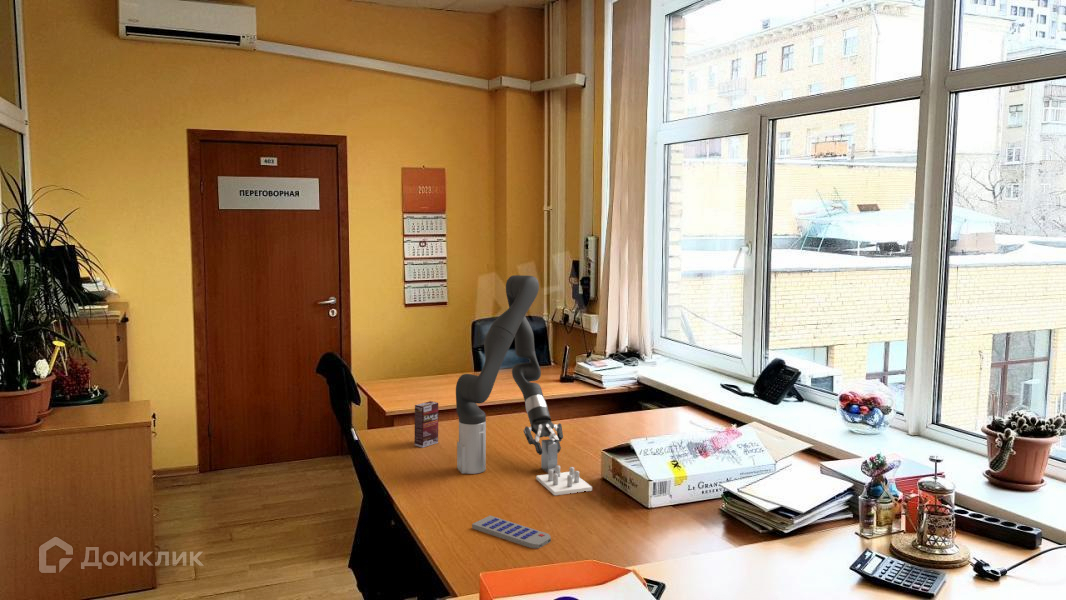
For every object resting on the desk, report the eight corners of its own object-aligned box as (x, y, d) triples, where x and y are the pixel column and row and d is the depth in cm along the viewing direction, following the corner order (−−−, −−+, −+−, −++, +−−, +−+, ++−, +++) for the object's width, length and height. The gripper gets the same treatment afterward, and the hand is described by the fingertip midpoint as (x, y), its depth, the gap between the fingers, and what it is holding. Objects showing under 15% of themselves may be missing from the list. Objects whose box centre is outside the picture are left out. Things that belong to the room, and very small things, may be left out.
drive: (548, 473, 265) (548, 445, 264) (541, 468, 271) (541, 440, 270) (557, 472, 266) (557, 444, 265) (550, 467, 272) (550, 439, 271)
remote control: (490, 521, 225) (490, 514, 225) (553, 541, 212) (553, 533, 211) (472, 530, 219) (472, 522, 219) (536, 551, 205) (536, 543, 205)
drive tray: (554, 495, 245) (554, 481, 244) (536, 479, 259) (536, 465, 259) (592, 490, 249) (592, 476, 249) (571, 474, 264) (572, 461, 263)
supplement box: (423, 448, 292) (422, 406, 290) (414, 445, 295) (413, 404, 293) (439, 442, 299) (439, 402, 297) (430, 440, 302) (430, 400, 300)
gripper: (521, 406, 272) (533, 449, 262) (559, 403, 277) (572, 445, 267) (516, 417, 277) (527, 460, 268) (553, 414, 283) (565, 455, 273)
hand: (549, 452), depth 268 cm, fingers open, 6 cm apart
